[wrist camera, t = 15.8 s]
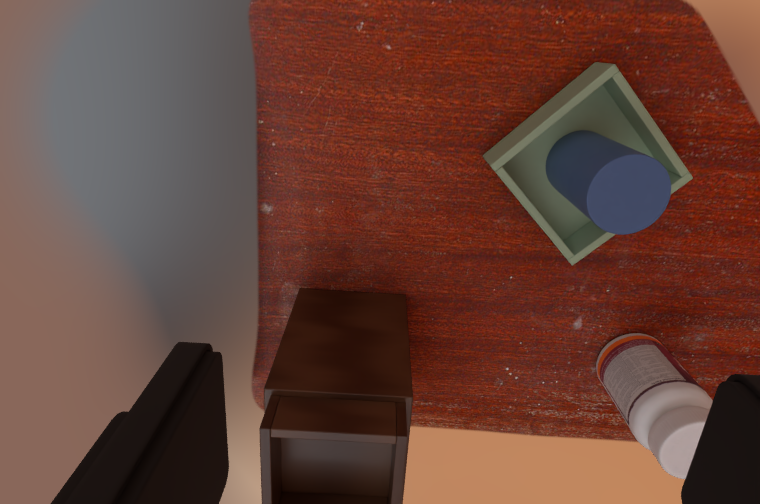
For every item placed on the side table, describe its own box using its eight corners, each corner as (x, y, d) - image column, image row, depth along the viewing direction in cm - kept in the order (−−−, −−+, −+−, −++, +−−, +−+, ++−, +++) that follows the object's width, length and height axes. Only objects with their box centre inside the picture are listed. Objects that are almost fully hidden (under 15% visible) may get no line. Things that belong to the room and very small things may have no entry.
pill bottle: (670, 376, 48) (750, 472, 37) (602, 397, 49) (662, 496, 38) (656, 320, 45) (737, 404, 35) (586, 343, 46) (644, 432, 36)
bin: (481, 155, 40) (490, 165, 37) (595, 61, 38) (614, 63, 35) (558, 249, 43) (572, 265, 40) (669, 167, 41) (693, 178, 37)
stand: (299, 377, 48) (256, 541, 32) (299, 288, 45) (251, 422, 29) (398, 383, 48) (403, 549, 32) (405, 294, 45) (415, 431, 29)
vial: (532, 160, 40) (570, 192, 32) (588, 115, 39) (643, 136, 30) (569, 208, 41) (615, 250, 33) (625, 166, 40) (687, 199, 32)
